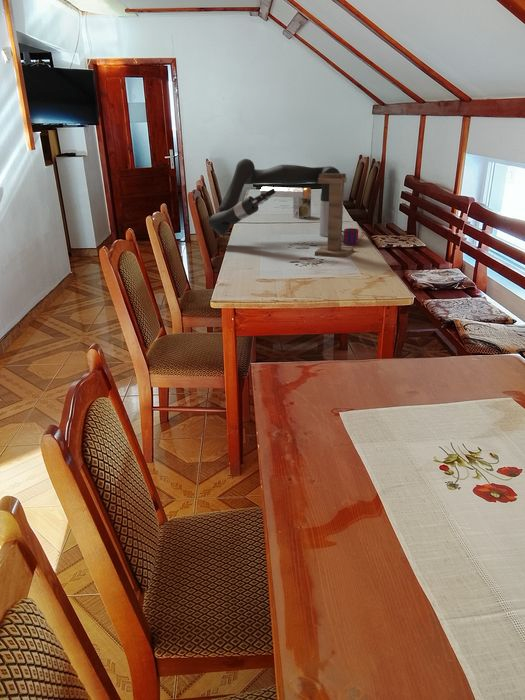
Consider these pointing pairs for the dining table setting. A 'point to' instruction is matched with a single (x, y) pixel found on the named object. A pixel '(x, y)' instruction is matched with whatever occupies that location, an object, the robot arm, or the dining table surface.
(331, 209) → the stand
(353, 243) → the mug
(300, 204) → the coffee box
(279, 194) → the rod
